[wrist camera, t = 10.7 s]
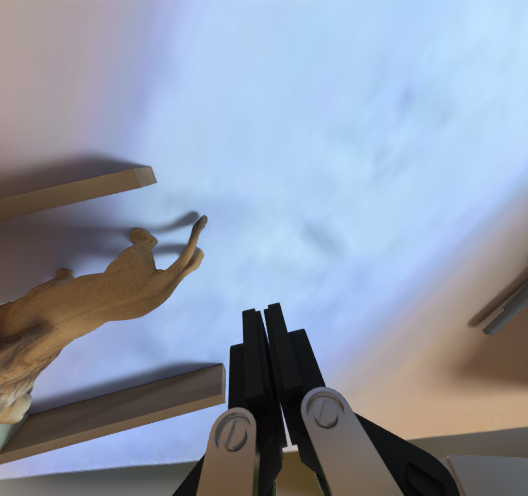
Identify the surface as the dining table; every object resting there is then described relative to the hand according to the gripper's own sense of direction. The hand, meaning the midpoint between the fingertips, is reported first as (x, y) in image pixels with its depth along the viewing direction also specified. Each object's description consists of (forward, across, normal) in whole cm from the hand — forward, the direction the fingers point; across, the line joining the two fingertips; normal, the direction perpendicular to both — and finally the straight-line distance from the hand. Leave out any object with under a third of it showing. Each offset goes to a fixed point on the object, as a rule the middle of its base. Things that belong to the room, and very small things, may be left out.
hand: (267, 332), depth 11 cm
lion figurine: (+8, +10, -1) cm, 13 cm away
